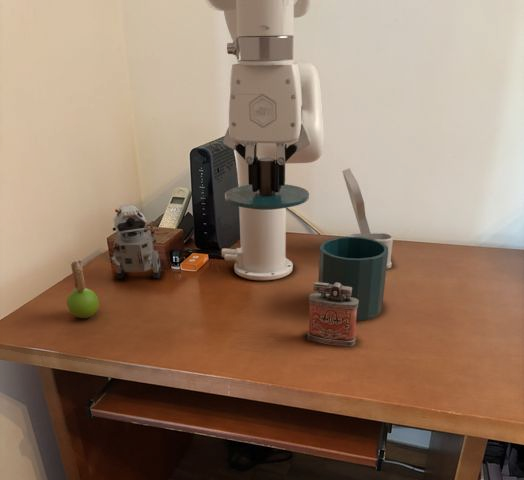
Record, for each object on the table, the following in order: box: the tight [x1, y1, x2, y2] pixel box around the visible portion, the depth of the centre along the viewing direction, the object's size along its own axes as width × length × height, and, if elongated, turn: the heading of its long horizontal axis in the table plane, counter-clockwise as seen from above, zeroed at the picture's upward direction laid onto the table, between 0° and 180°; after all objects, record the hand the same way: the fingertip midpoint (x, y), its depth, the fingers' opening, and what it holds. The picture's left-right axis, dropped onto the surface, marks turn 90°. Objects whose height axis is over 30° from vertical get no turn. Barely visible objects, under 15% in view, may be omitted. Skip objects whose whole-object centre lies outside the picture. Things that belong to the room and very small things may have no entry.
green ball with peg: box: [66, 259, 100, 319], centre depth 97 cm, size 5×6×12 cm
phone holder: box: [342, 168, 394, 269], centre depth 120 cm, size 17×10×18 cm, turn 179°
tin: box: [317, 236, 388, 322], centre depth 99 cm, size 12×12×12 cm
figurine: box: [111, 204, 163, 280], centre depth 111 cm, size 9×12×15 cm
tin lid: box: [224, 158, 310, 210], centre depth 82 cm, size 13×13×6 cm
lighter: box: [307, 281, 359, 347], centre depth 89 cm, size 8×3×10 cm, turn 71°
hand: (266, 188), depth 83 cm, fingers closed on tin lid, 2 cm apart
